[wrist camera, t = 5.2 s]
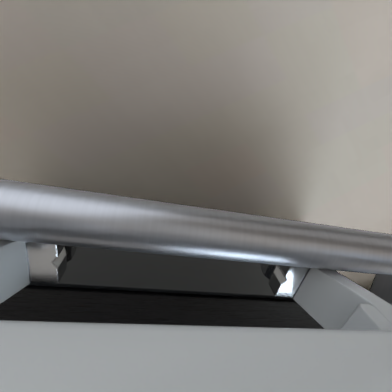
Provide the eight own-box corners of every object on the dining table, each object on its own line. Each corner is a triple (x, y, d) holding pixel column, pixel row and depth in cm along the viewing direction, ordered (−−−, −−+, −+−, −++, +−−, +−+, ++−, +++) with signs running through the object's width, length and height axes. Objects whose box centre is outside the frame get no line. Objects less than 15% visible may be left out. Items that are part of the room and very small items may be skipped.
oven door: (33, 139, 22) (-774, 93, 3) (274, 182, 27) (534, 262, 9) (29, 206, 23) (-543, 477, 4) (260, 234, 29) (461, 403, 10)
